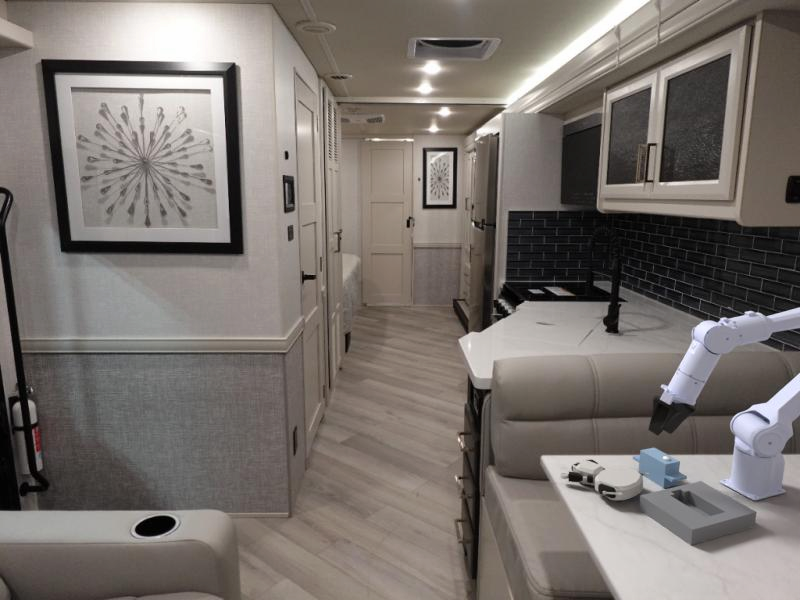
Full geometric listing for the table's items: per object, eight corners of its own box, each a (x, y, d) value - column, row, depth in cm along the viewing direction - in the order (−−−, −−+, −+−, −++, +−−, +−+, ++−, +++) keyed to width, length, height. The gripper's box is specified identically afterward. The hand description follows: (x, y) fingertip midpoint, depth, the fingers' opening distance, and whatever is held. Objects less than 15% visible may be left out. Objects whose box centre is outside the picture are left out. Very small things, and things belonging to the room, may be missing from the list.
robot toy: (556, 488, 115) (624, 513, 104) (556, 468, 115) (624, 491, 104) (586, 470, 124) (652, 491, 112) (586, 451, 123) (652, 471, 112)
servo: (645, 466, 124) (647, 442, 123) (685, 489, 114) (688, 463, 112) (631, 468, 122) (633, 444, 121) (670, 493, 112) (673, 467, 111)
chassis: (699, 494, 112) (700, 481, 111) (754, 526, 100) (756, 511, 100) (639, 509, 106) (640, 495, 105) (690, 545, 95) (692, 529, 94)
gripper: (684, 368, 119) (654, 420, 121) (660, 364, 108) (629, 421, 111) (716, 384, 114) (685, 438, 116) (694, 382, 104) (661, 442, 106)
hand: (659, 432), depth 113 cm, fingers open, 7 cm apart
